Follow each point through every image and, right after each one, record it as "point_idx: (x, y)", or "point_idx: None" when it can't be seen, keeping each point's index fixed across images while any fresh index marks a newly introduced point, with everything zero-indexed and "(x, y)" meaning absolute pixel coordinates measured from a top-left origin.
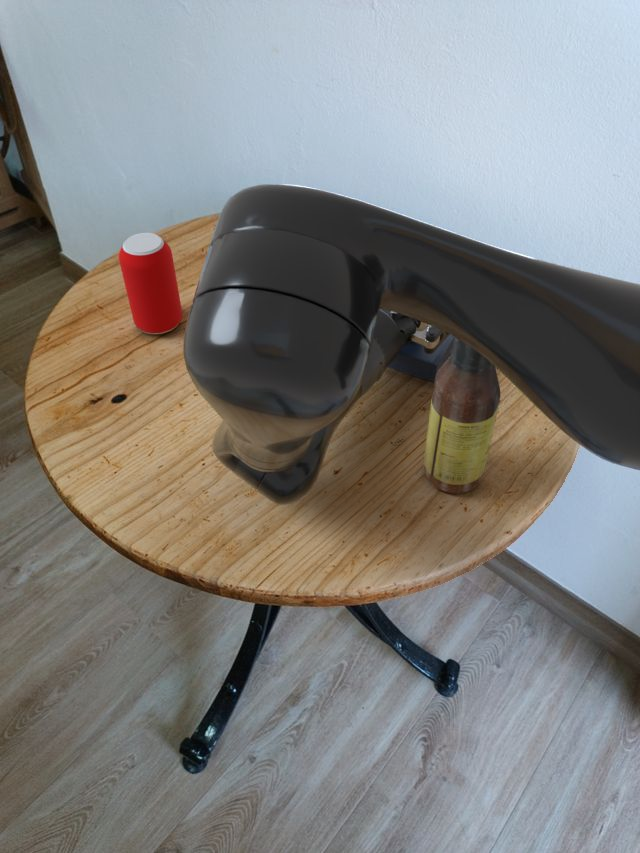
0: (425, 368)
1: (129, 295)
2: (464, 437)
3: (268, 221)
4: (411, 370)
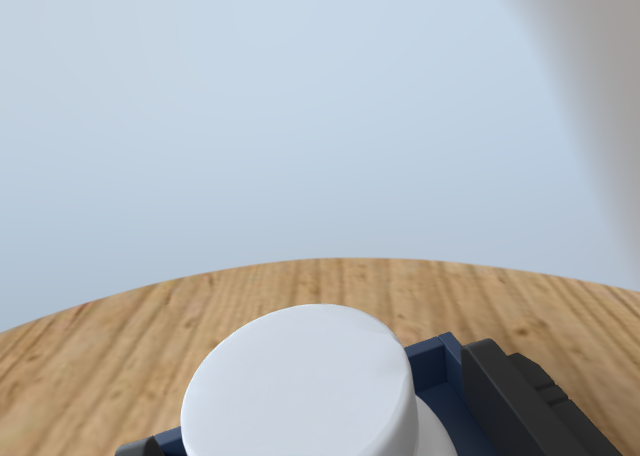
0: None
1: None
2: None
3: None
4: None
